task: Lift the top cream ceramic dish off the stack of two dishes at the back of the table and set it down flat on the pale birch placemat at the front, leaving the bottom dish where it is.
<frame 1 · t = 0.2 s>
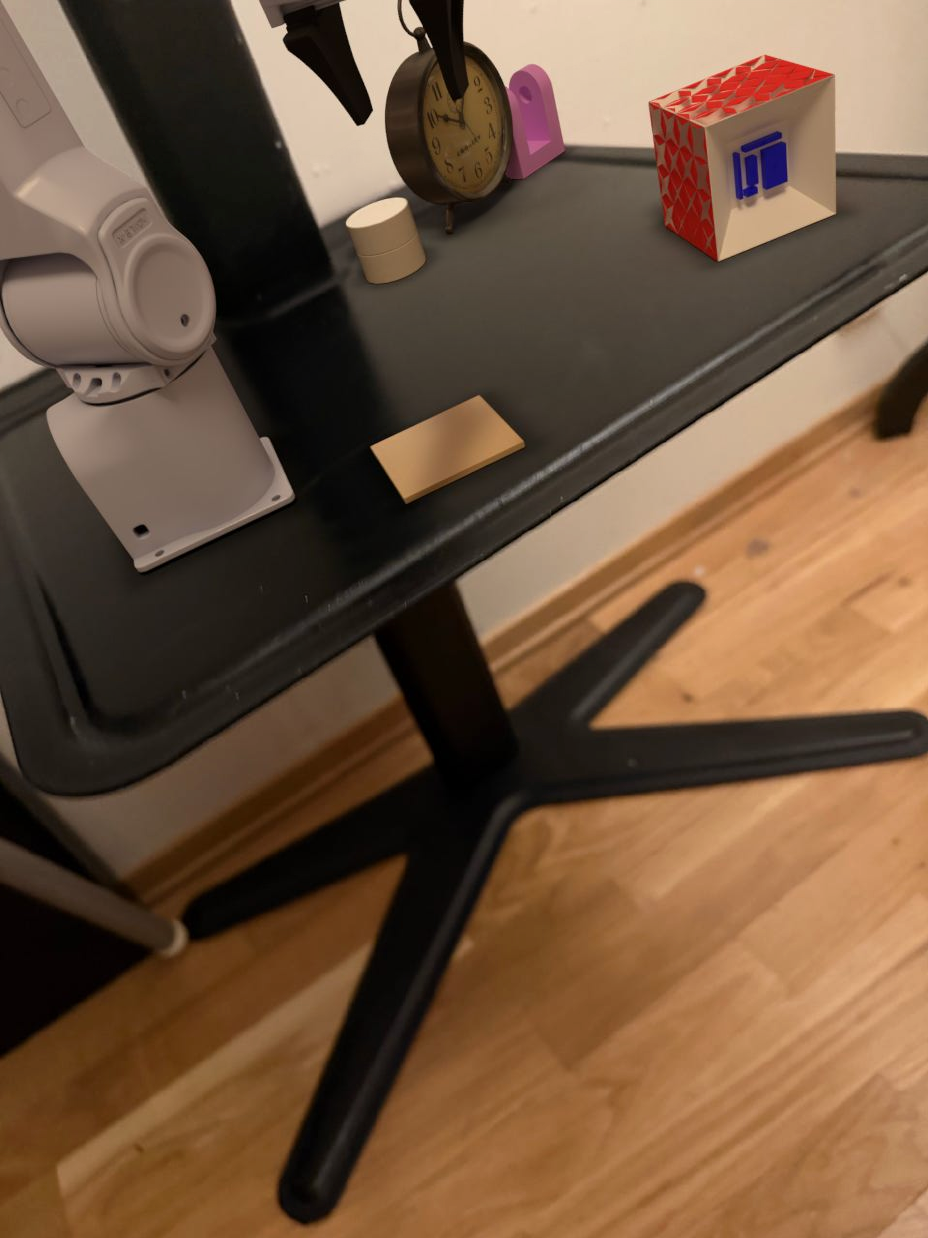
hand: (411, 105, 63), 10 cm above the table, tool pointing down, fingers open, 7 cm apart
alarm clock: (470, 211, 75), on the table
bracket: (492, 165, 82), on the table
bottom dish: (396, 267, 70), on the table, touching top dish
puzzle cube: (746, 223, 59), on the table
top dish: (386, 240, 69), point 2 cm above the table, touching bottom dish
placemat: (445, 449, 49), on the table
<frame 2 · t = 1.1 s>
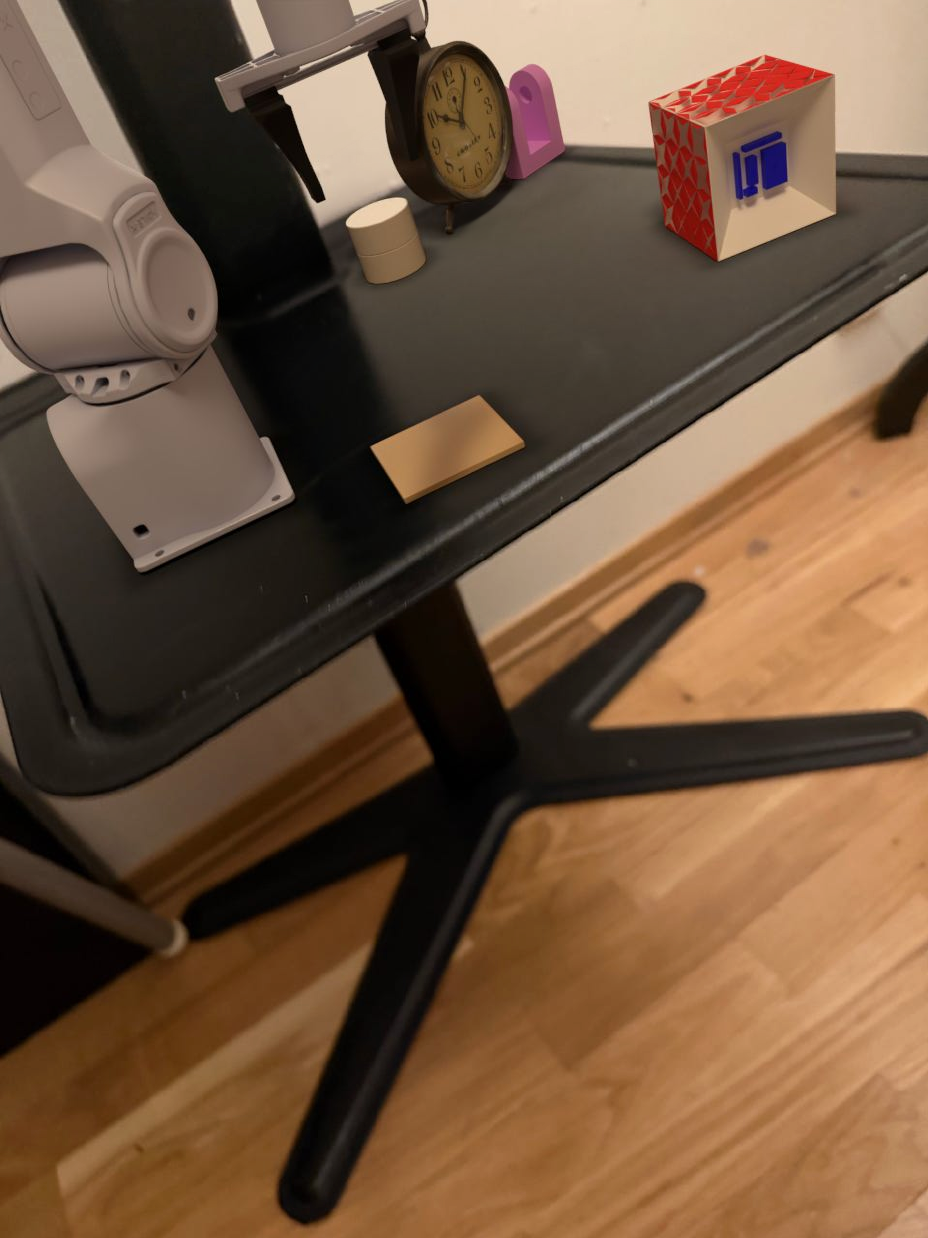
hand: (365, 177, 66), 7 cm above the table, tool pointing down, fingers open, 7 cm apart
alarm clock: (470, 212, 75), on the table, touching gripper
everything else where it was.
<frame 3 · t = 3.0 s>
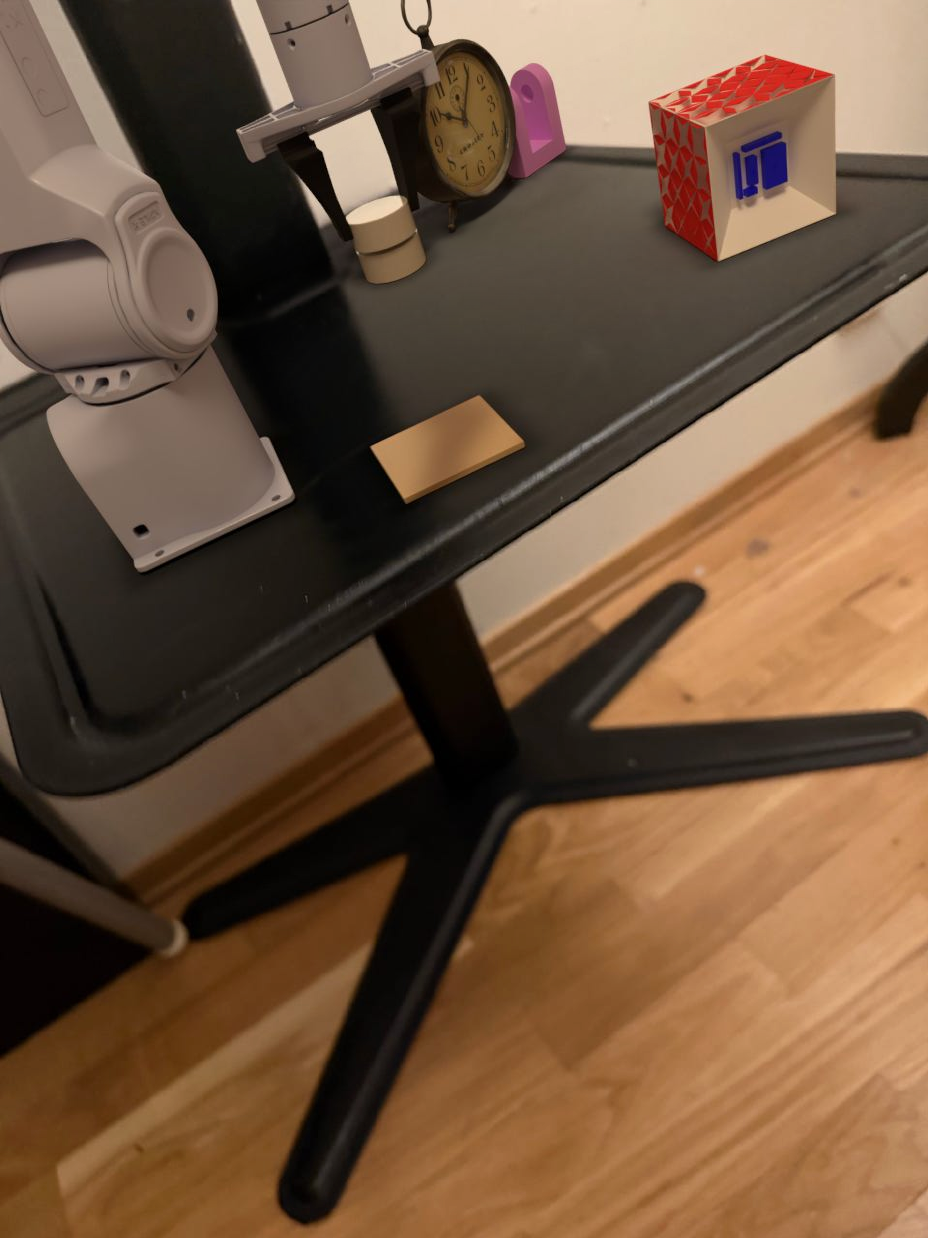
hand: (379, 222, 68), 4 cm above the table, tool pointing down, fingers closed on top dish, 5 cm apart
alarm clock: (473, 209, 75), on the table, touching bracket
bracket: (493, 165, 82), on the table, touching alarm clock
bottom dish: (396, 267, 70), on the table
top dish: (385, 238, 68), point 2 cm above the table, touching gripper
everything else where it was.
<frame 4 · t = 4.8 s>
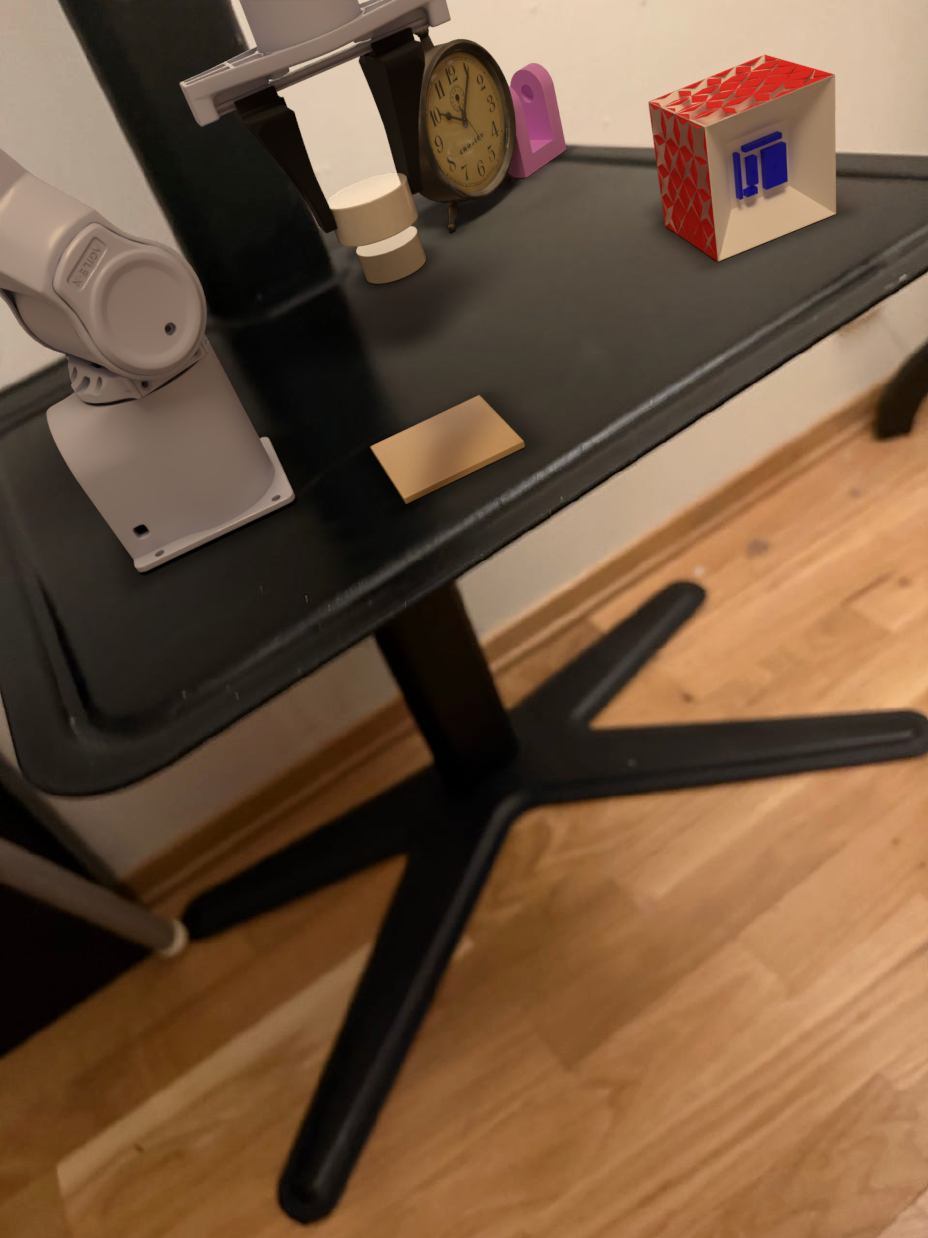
hand: (371, 207, 53), 9 cm above the table, tool pointing down, fingers closed on top dish, 5 cm apart
alarm clock: (473, 209, 75), on the table
bracket: (493, 165, 82), on the table
top dish: (378, 228, 53), point 8 cm above the table, touching gripper
everything else where it was.
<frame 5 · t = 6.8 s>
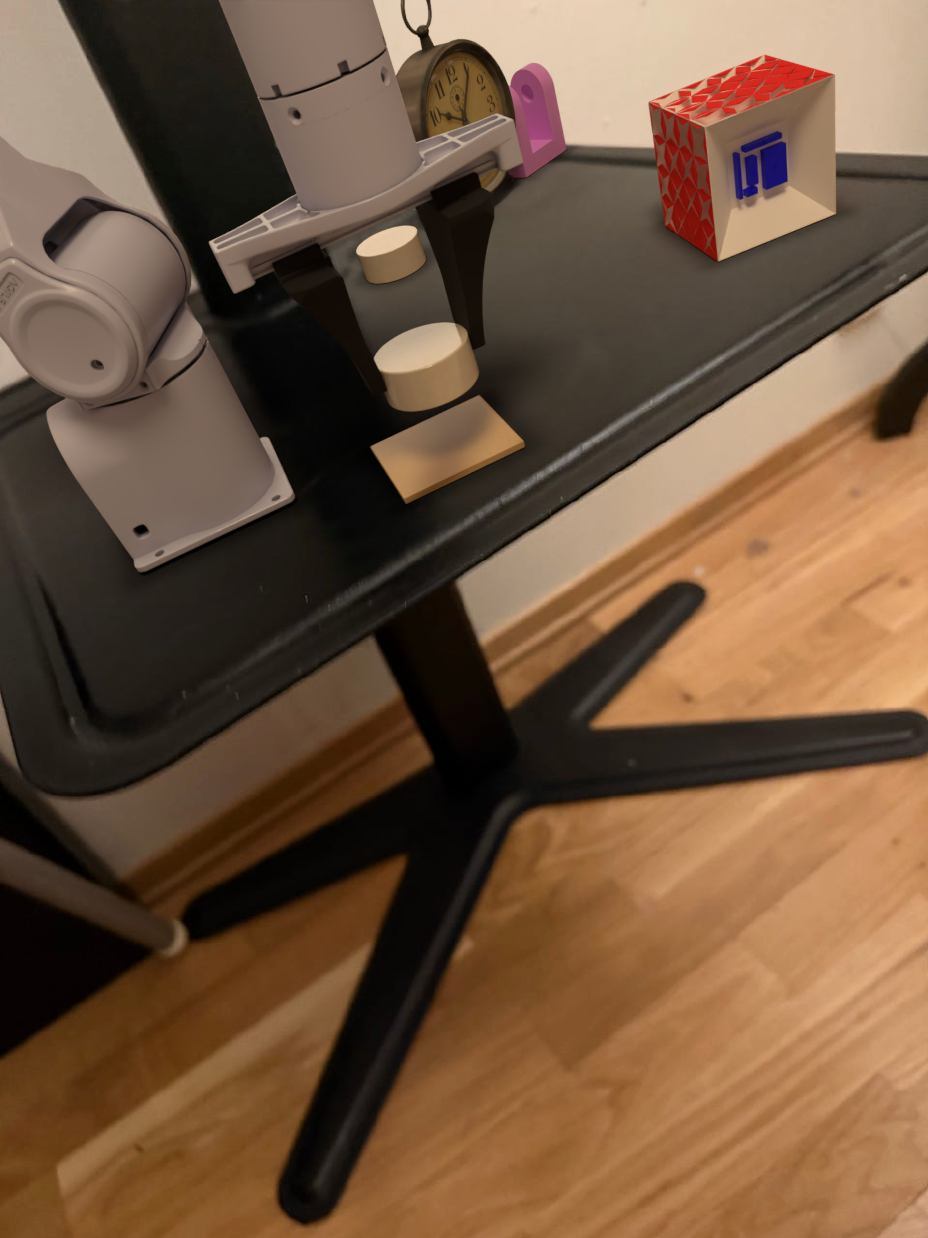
hand: (425, 363, 46), 5 cm above the table, tool pointing down, fingers closed on top dish, 5 cm apart
top dish: (432, 385, 46), point 4 cm above the table, touching gripper
everything else where it was.
when the fingers open (1 cm above the table, at t = 8.2 s): top dish stays where it is, resting on placemat.
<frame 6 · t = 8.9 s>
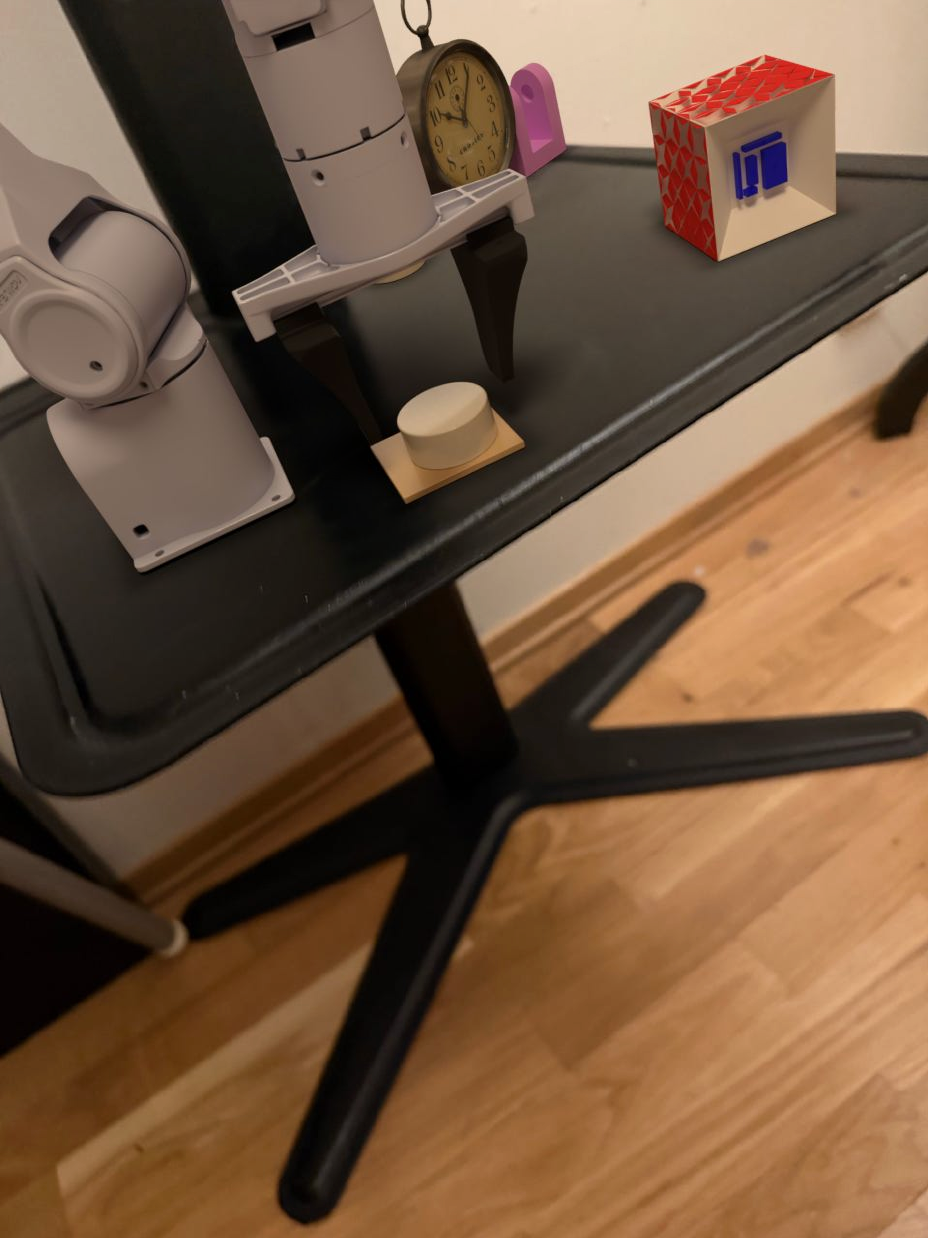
hand: (437, 404, 48), 3 cm above the table, tool pointing down, fingers open, 7 cm apart
top dish: (453, 442, 49), resting on placemat
everything else where it was.
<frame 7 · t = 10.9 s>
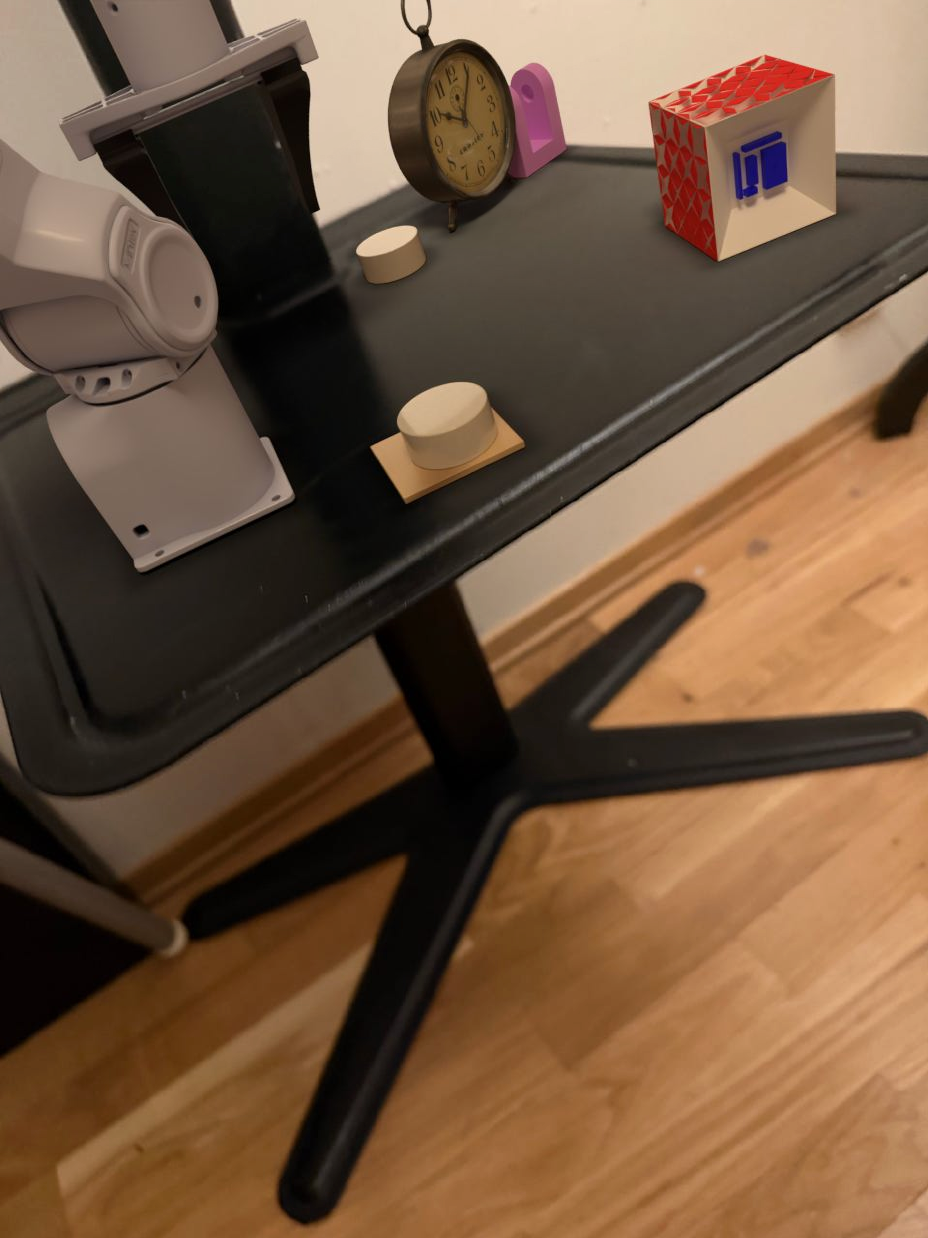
hand: (255, 233, 55), 9 cm above the table, tool pointing down, fingers open, 7 cm apart
nothing on the table moved.
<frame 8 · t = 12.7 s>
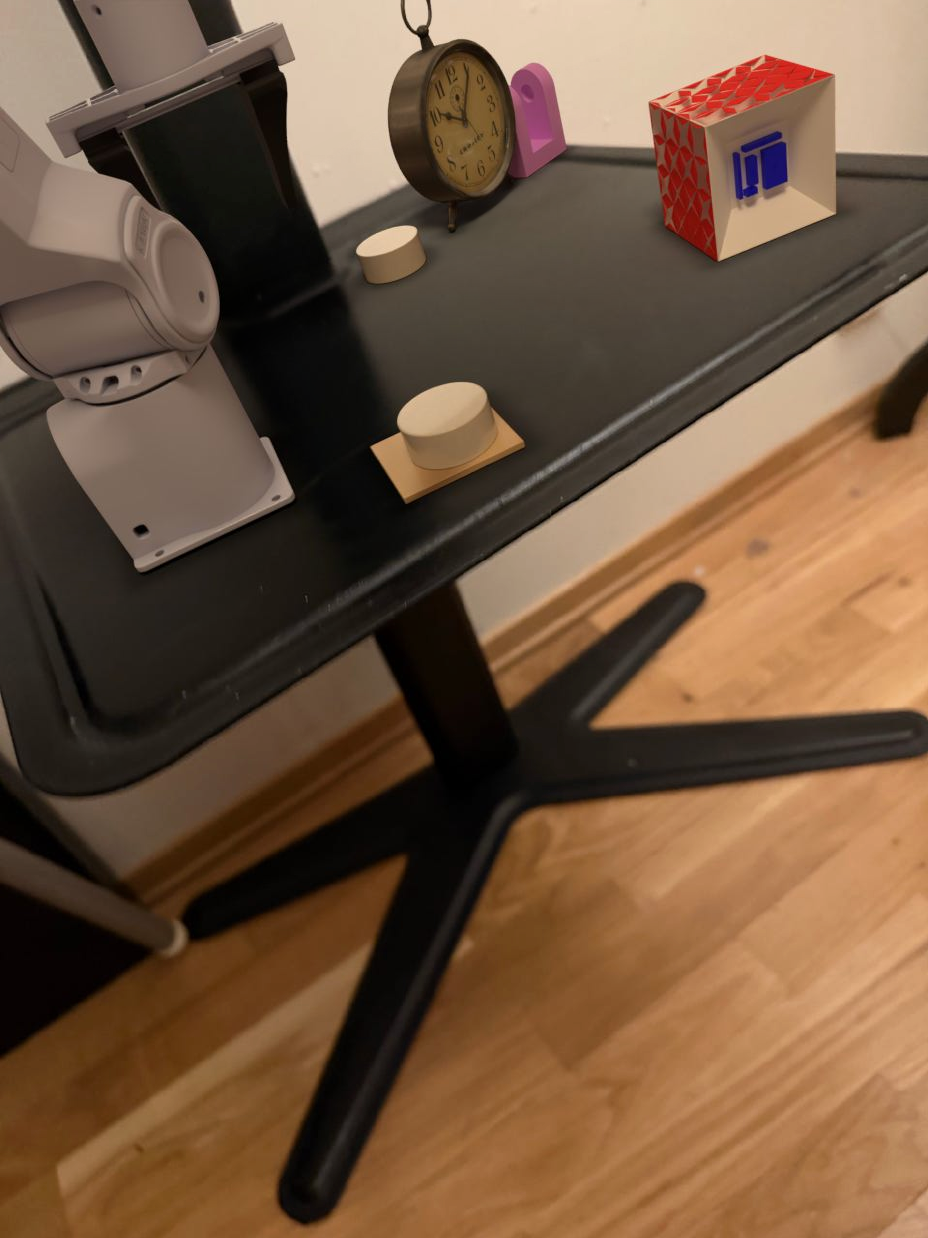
hand: (236, 228, 57), 9 cm above the table, tool pointing down, fingers open, 7 cm apart
nothing on the table moved.
at the end: top dish inside the target area on the placemat (0.4 cm from its centre), point 0.4 cm above the placemat's base; top dish tilted 0°; bottom dish moved 0.0 cm from its start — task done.
